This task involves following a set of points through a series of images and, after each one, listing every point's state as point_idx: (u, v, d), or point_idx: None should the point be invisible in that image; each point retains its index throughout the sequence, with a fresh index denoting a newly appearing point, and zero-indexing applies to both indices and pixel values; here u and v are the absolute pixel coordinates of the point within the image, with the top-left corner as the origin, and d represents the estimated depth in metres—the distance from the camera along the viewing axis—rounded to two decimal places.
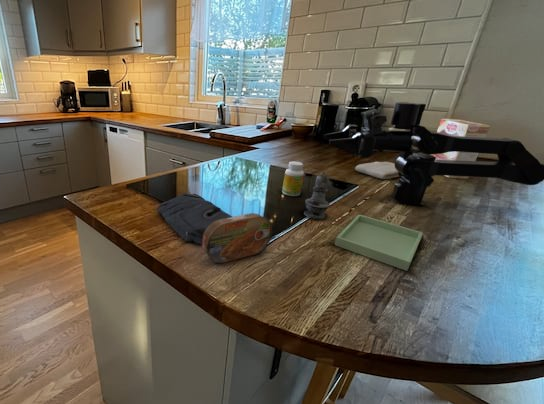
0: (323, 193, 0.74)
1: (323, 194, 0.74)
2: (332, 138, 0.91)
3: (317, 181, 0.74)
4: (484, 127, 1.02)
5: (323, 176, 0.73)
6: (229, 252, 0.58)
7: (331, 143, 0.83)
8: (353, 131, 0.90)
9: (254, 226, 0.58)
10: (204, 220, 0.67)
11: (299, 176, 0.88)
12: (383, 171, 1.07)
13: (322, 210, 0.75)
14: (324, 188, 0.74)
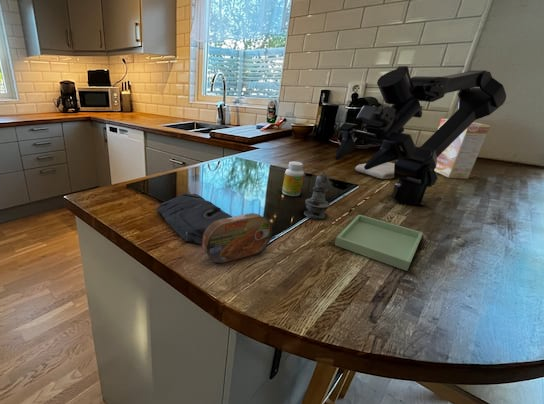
0: (323, 193, 0.74)
1: (323, 194, 0.74)
2: (343, 153, 0.79)
3: (317, 181, 0.74)
4: (484, 127, 1.02)
5: (323, 176, 0.73)
6: (229, 252, 0.58)
7: (367, 168, 0.71)
8: (353, 131, 0.79)
9: (254, 226, 0.58)
10: (204, 220, 0.67)
11: (299, 176, 0.88)
12: (383, 171, 1.07)
13: (322, 210, 0.75)
14: (324, 188, 0.74)
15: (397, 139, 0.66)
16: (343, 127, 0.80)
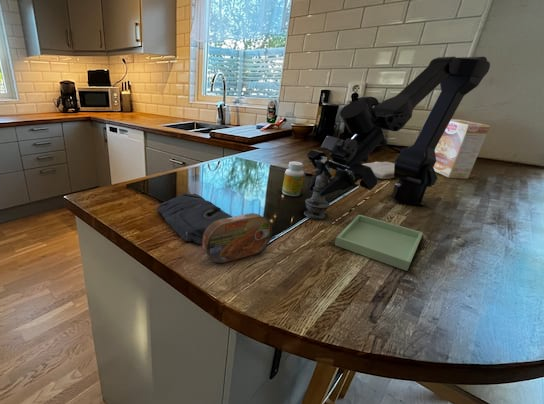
0: None
1: None
2: None
3: (317, 181, 0.74)
4: (484, 127, 1.02)
5: (323, 176, 0.73)
6: (229, 252, 0.58)
7: (323, 194, 0.73)
8: (327, 161, 0.76)
9: (254, 226, 0.58)
10: (204, 220, 0.67)
11: (299, 176, 0.88)
12: (383, 171, 1.07)
13: (322, 210, 0.75)
14: None
15: (358, 172, 0.66)
16: (310, 154, 0.80)
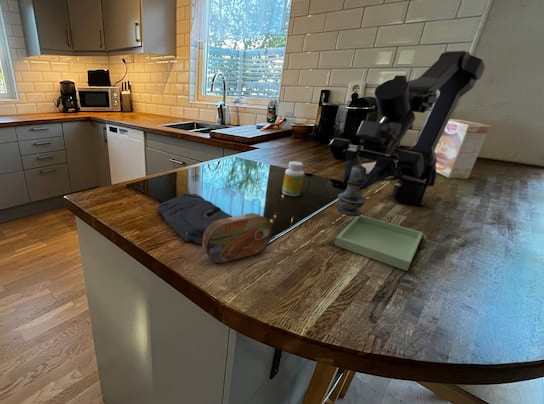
0: None
1: None
2: (349, 176, 0.68)
3: (354, 173, 0.65)
4: (484, 127, 1.02)
5: (361, 167, 0.64)
6: (229, 252, 0.58)
7: (363, 188, 0.65)
8: (358, 150, 0.68)
9: (254, 226, 0.58)
10: (204, 220, 0.67)
11: (299, 176, 0.88)
12: None
13: (361, 205, 0.66)
14: (362, 181, 0.65)
15: (409, 159, 0.59)
16: (335, 143, 0.70)
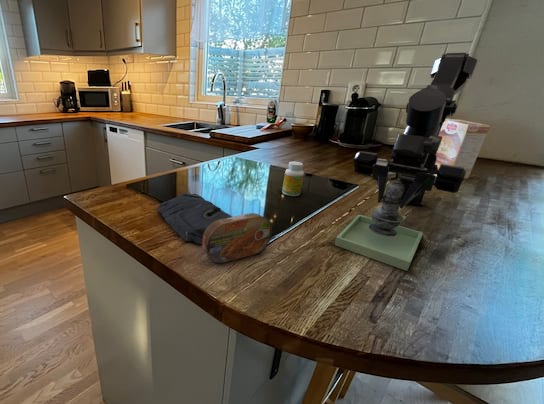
0: (399, 204, 0.61)
1: (399, 205, 0.61)
2: (382, 192, 0.63)
3: (393, 191, 0.60)
4: (484, 127, 1.02)
5: (400, 184, 0.60)
6: (229, 252, 0.58)
7: (403, 206, 0.60)
8: (388, 165, 0.63)
9: (254, 226, 0.58)
10: (204, 220, 0.67)
11: (299, 176, 0.88)
12: None
13: None
14: None
15: (454, 175, 0.55)
16: (362, 158, 0.65)
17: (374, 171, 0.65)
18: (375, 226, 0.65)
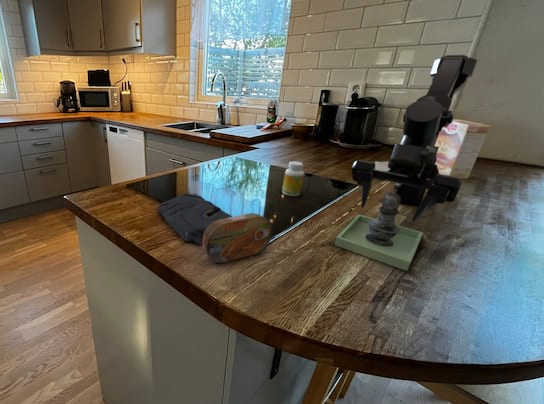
0: (395, 215, 0.62)
1: (395, 216, 0.62)
2: None
3: (389, 202, 0.61)
4: (484, 127, 1.02)
5: (397, 195, 0.61)
6: (229, 252, 0.58)
7: (415, 219, 0.59)
8: (371, 171, 0.66)
9: (254, 226, 0.58)
10: (204, 220, 0.67)
11: (299, 176, 0.88)
12: None
13: None
14: (397, 209, 0.62)
15: (450, 185, 0.56)
16: (360, 166, 0.66)
17: (358, 177, 0.67)
18: (372, 236, 0.66)
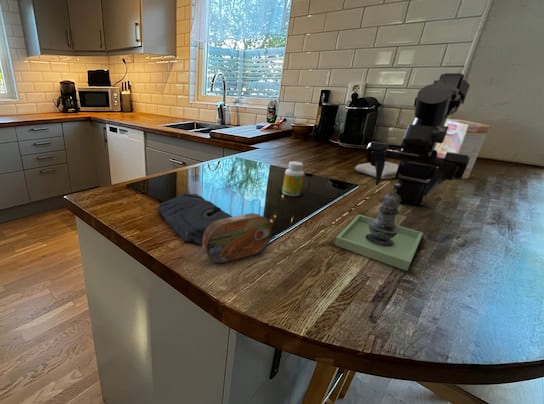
0: (395, 215, 0.62)
1: (395, 216, 0.62)
2: (380, 176, 0.71)
3: (389, 202, 0.61)
4: (484, 127, 1.02)
5: (397, 195, 0.61)
6: (229, 252, 0.58)
7: None
8: (385, 151, 0.71)
9: (254, 226, 0.58)
10: (204, 220, 0.67)
11: (299, 176, 0.88)
12: (383, 171, 1.07)
13: None
14: (397, 209, 0.62)
15: (459, 161, 0.61)
16: (374, 147, 0.71)
17: (372, 157, 0.72)
18: (372, 236, 0.66)
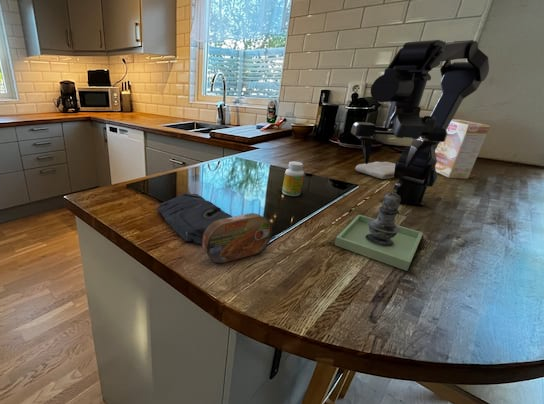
0: (395, 215, 0.62)
1: (395, 216, 0.62)
2: None
3: (389, 202, 0.61)
4: (484, 127, 1.02)
5: (397, 195, 0.61)
6: (229, 252, 0.58)
7: None
8: None
9: (254, 226, 0.58)
10: (204, 220, 0.67)
11: (299, 176, 0.88)
12: (383, 171, 1.07)
13: None
14: (397, 209, 0.62)
15: (439, 140, 0.68)
16: (363, 134, 0.72)
17: (360, 138, 0.74)
18: (372, 236, 0.66)
